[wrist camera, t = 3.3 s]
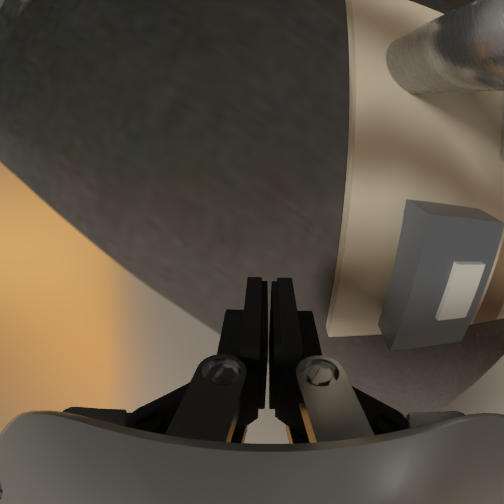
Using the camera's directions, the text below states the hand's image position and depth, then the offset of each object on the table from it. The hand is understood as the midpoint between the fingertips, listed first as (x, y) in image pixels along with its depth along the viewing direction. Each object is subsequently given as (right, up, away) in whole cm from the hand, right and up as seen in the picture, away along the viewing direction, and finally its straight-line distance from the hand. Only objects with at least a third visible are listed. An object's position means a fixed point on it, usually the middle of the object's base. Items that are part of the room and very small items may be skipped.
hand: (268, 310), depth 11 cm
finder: (+9, +2, +2) cm, 9 cm away
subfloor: (+13, +6, +1) cm, 14 cm away
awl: (+7, +11, -2) cm, 13 cm away
